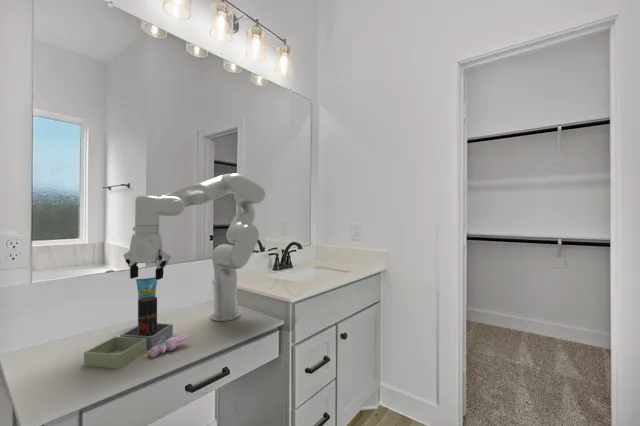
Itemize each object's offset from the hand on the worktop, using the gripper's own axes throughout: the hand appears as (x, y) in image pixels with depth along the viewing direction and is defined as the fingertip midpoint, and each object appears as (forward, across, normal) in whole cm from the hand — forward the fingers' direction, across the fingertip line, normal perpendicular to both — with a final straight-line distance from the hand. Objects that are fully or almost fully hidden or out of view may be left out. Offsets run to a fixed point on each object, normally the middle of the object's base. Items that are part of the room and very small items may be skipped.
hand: (146, 278), depth 109 cm
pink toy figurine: (+23, +12, -6) cm, 26 cm away
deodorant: (+23, 0, 0) cm, 23 cm away
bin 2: (+22, 0, 0) cm, 22 cm away
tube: (+22, -10, +14) cm, 28 cm away
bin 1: (+22, -1, -12) cm, 26 cm away
